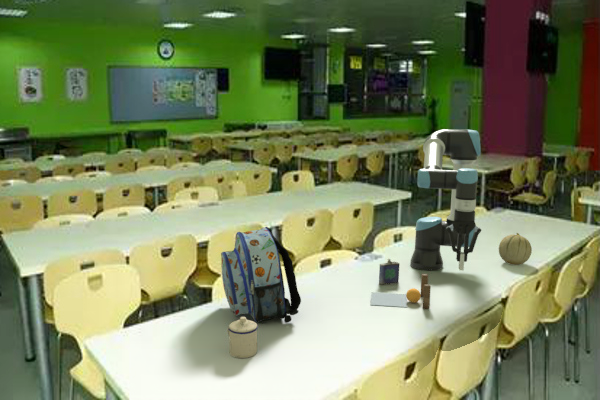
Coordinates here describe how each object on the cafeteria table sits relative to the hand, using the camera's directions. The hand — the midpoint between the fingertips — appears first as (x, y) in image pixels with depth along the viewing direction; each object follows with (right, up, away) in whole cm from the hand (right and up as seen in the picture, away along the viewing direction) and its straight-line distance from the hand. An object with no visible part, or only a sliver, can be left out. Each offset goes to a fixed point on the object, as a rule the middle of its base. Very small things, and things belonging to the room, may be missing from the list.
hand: (461, 269), depth 217 cm
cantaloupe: (+41, -4, +54) cm, 68 cm away
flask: (-24, -9, +26) cm, 37 cm away
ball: (-18, -11, +4) cm, 21 cm away
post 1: (-12, -12, +11) cm, 20 cm away
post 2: (-14, -15, -2) cm, 20 cm away
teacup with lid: (-81, -21, -38) cm, 92 cm away
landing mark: (-27, -13, +7) cm, 30 cm away
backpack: (-79, -15, -6) cm, 81 cm away
